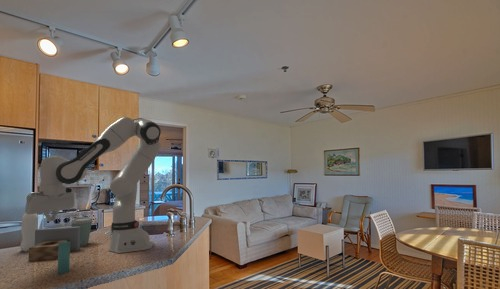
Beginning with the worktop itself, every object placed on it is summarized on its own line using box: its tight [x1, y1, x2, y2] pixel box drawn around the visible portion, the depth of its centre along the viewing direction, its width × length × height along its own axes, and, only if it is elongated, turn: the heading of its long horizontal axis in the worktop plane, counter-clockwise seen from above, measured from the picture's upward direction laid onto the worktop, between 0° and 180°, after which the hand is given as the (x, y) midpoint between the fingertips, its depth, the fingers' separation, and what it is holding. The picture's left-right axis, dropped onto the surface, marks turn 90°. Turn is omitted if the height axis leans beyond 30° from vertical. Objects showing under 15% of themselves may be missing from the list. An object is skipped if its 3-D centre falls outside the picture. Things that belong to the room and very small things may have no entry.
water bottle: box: [19, 212, 39, 252], centre depth 145 cm, size 7×7×25 cm
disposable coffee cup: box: [70, 216, 93, 247], centre depth 153 cm, size 11×11×15 cm
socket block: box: [27, 240, 69, 262], centre depth 133 cm, size 12×12×6 cm
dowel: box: [57, 241, 71, 275], centre depth 112 cm, size 4×4×12 cm
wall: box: [35, 226, 81, 252], centre depth 141 cm, size 20×3×12 cm, turn 102°
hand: (51, 220), depth 123 cm, fingers closed
